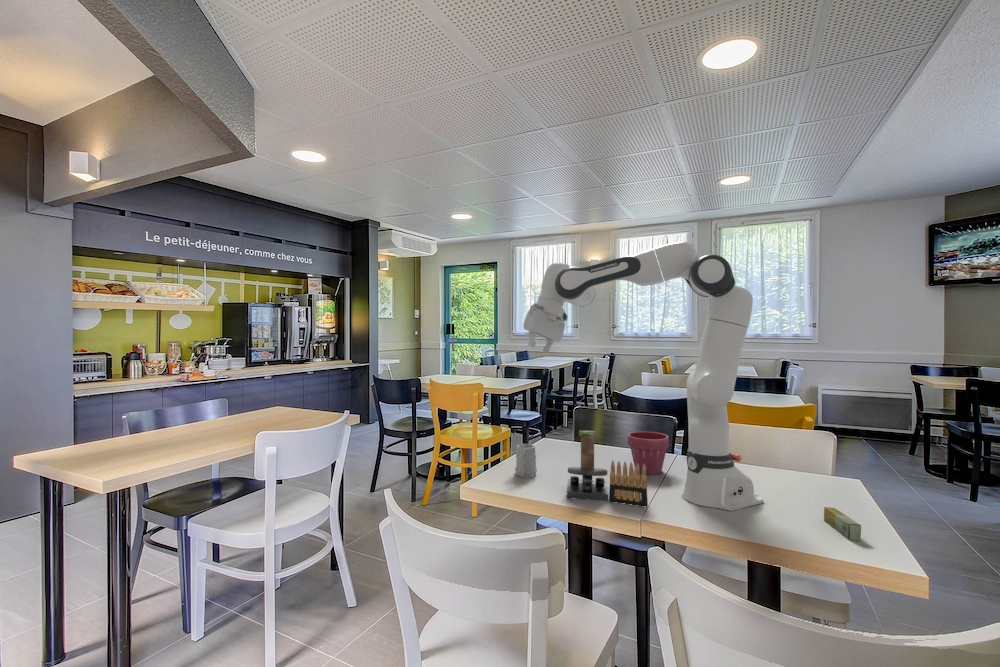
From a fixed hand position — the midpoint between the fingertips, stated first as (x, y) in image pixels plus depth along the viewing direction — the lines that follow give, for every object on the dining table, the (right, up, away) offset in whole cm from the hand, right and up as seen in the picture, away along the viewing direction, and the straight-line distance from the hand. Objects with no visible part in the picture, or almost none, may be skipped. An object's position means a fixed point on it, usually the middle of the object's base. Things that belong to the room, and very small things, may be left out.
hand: (538, 349), depth 152 cm
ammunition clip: (+24, -44, -21) cm, 54 cm away
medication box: (+73, -44, -39) cm, 93 cm away
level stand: (+14, -44, -12) cm, 48 cm away
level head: (+14, -38, -12) cm, 42 cm away
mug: (-5, -44, +4) cm, 44 cm away
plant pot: (+40, -44, +11) cm, 61 cm away
